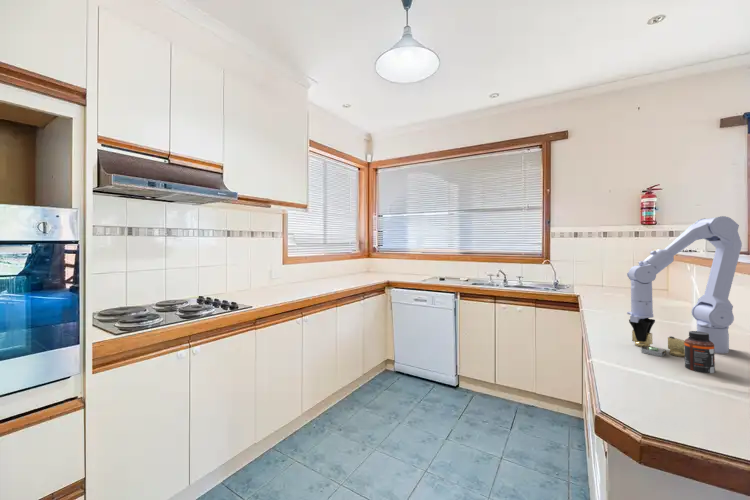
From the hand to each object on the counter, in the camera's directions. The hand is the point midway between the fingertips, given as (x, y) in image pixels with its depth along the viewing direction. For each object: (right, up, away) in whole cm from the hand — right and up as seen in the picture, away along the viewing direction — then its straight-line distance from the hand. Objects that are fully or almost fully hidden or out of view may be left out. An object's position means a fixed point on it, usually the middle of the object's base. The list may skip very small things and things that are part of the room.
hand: (642, 340), depth 114 cm
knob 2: (+3, -2, -10) cm, 11 cm away
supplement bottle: (-2, -3, -22) cm, 22 cm away
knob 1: (0, -2, 0) cm, 2 cm away
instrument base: (0, -3, -6) cm, 7 cm away
